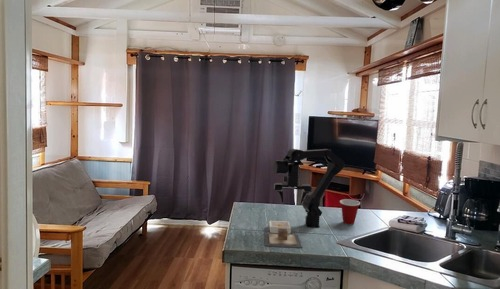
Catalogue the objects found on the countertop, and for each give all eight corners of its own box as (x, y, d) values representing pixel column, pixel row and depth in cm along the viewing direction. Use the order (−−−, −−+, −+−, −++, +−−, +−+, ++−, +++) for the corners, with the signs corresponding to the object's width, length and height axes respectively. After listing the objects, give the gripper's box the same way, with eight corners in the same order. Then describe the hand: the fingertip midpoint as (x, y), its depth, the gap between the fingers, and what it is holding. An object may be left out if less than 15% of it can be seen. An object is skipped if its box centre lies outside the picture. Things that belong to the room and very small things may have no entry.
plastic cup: (336, 224, 198) (338, 202, 197) (339, 219, 208) (341, 198, 207) (357, 227, 194) (359, 204, 193) (359, 221, 204) (361, 200, 203)
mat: (297, 235, 175) (297, 234, 175) (302, 248, 159) (302, 247, 159) (264, 234, 175) (264, 233, 175) (265, 246, 159) (265, 245, 159)
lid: (294, 236, 173) (294, 226, 173) (297, 245, 161) (297, 234, 161) (268, 234, 173) (269, 225, 173) (269, 243, 161) (270, 233, 161)
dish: (288, 227, 188) (288, 221, 188) (290, 233, 178) (291, 227, 178) (269, 226, 188) (269, 220, 188) (270, 232, 178) (270, 226, 178)
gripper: (309, 172, 195) (307, 201, 196) (274, 170, 195) (272, 199, 196) (312, 175, 184) (310, 206, 185) (275, 173, 184) (273, 204, 185)
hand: (291, 203), depth 188 cm, fingers open, 9 cm apart
